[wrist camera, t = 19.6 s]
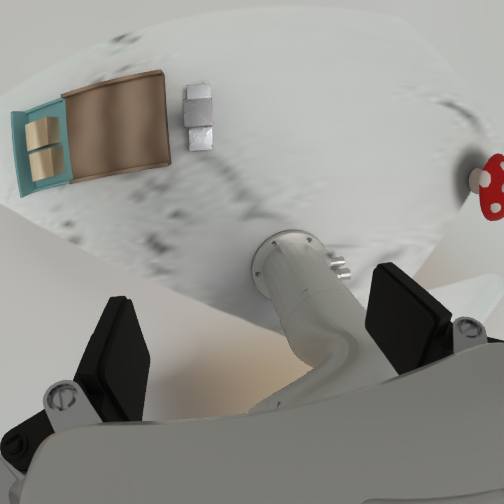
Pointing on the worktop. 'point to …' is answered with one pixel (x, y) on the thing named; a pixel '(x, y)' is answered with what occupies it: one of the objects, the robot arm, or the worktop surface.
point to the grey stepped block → (199, 116)
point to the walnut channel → (118, 126)
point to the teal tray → (22, 155)
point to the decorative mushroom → (490, 187)
